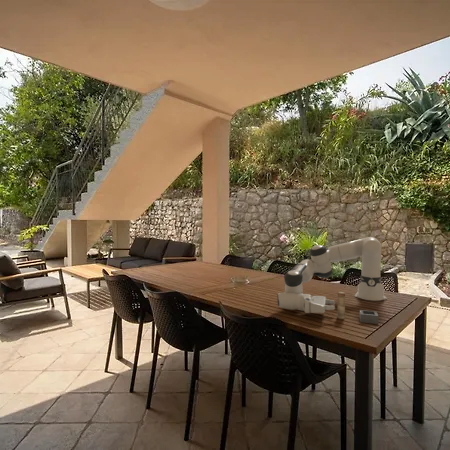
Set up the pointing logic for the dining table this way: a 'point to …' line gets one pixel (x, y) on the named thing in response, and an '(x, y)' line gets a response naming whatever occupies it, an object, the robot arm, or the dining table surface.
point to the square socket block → (368, 316)
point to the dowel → (341, 305)
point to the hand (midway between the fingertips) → (334, 305)
